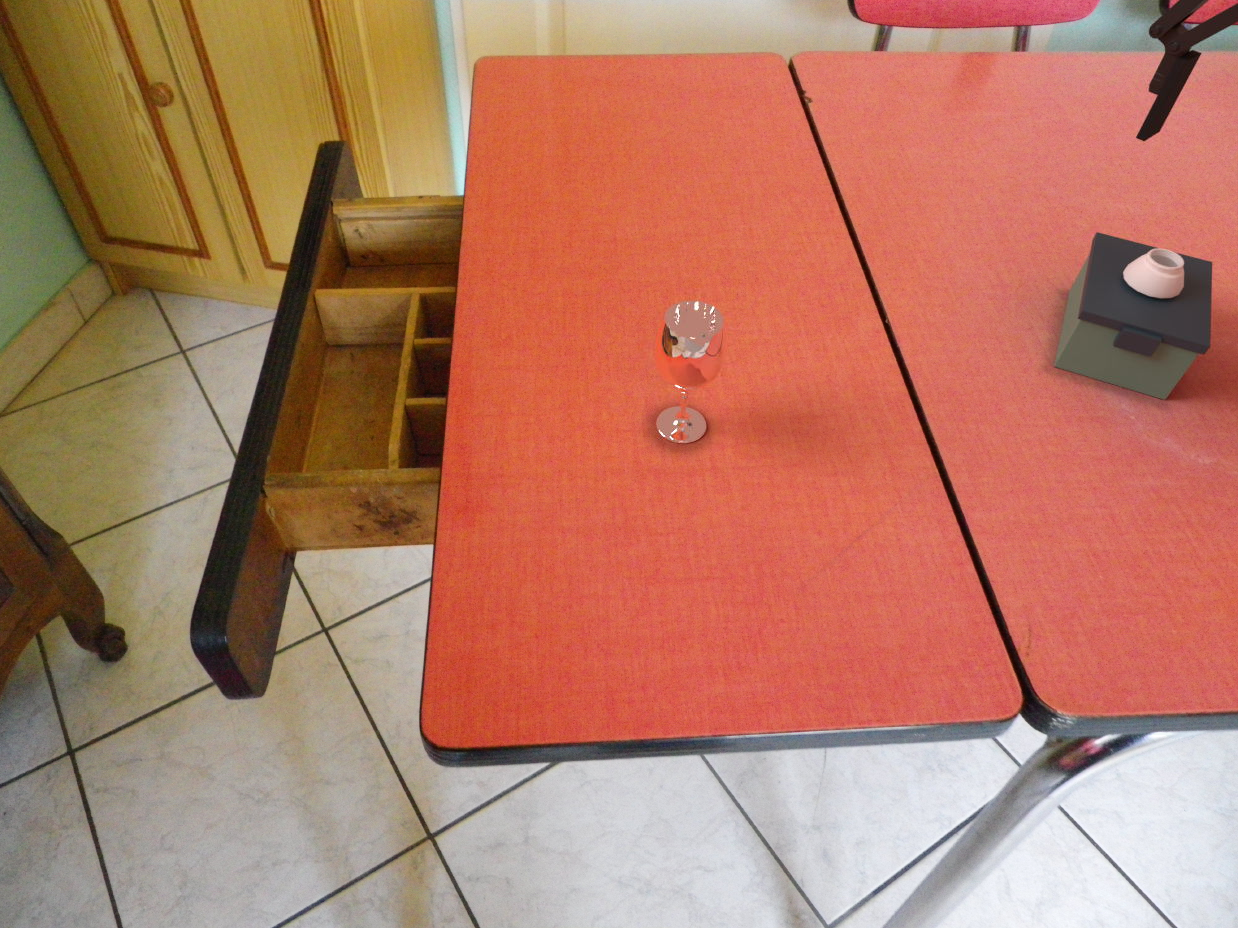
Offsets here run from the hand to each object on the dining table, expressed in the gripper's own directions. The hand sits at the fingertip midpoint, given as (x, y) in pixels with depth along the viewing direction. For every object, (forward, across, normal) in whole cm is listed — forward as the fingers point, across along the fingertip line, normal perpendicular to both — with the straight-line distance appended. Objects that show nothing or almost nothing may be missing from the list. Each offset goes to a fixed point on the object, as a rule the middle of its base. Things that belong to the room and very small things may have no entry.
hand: (1228, 169), depth 68 cm
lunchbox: (+20, -1, +2) cm, 20 cm away
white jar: (+13, -1, +2) cm, 13 cm away
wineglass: (+20, -20, -39) cm, 48 cm away
